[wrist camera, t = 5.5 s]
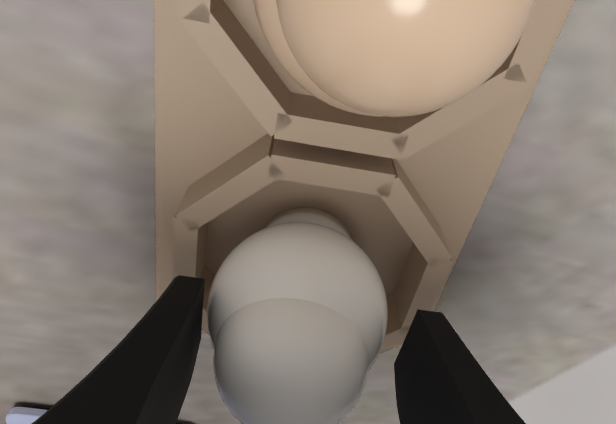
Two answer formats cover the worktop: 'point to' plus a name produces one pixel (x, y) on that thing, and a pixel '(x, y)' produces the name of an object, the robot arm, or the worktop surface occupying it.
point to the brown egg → (392, 49)
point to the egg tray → (320, 154)
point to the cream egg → (296, 321)
